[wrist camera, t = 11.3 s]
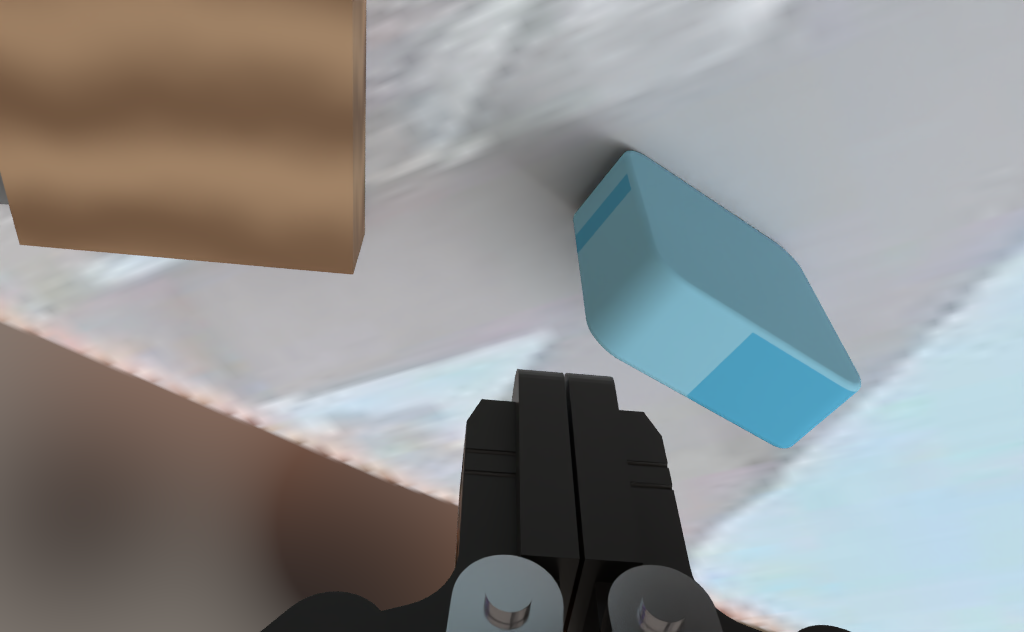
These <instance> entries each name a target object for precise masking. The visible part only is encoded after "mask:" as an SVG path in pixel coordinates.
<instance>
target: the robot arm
mask: <svg viewBox="0 0 1024 632" xmlns="http://www.w3.org/2000/svg"><path fill="white" fill-rule="evenodd" d="M261 632H762V631H759V630H756V629H754V628H751V627H748V626H746V625H743V624H741V623H739V622H736V621H735V620H733V619H731V618H729V617H728V616H726V615H725V614H723V613H722V612H720V611H719V610H718V609H717V608H715V606H714V604H713V602H712V600H711V599H710V597H709V595H708V594H707V593H706V592H705V590H704V589H703V588H702V587H701V586H700V585H699V584H698V583H697V582H696V581H695V580H694V578H693V576H692V572H691V569H690V565H689V560H688V555H687V551H686V546H685V541H684V537H683V532H682V527H681V523H680V518H679V514H678V509H677V504H676V500H675V495H674V490H672V481H671V477H670V472H669V468H667V458H666V453H665V449H664V444H663V439H662V436H661V435H660V433H659V432H658V431H657V429H656V428H655V427H654V425H653V424H652V423H651V421H650V420H649V419H648V417H647V416H646V415H645V413H644V412H636V411H624V410H619V408H618V402H617V396H616V390H615V384H614V380H613V378H612V377H608V376H596V375H584V374H572V373H566V374H565V376H564V374H563V373H558V372H546V371H534V370H522V369H517V371H516V375H515V382H514V389H513V396H512V402H510V401H497V400H485V399H482V400H481V401H480V403H479V404H478V406H477V407H476V408H475V410H474V411H473V413H472V414H471V416H470V417H469V419H468V420H467V424H466V434H465V443H464V453H463V463H462V472H461V482H460V493H459V508H458V524H457V541H456V554H455V569H454V571H453V573H452V575H451V577H450V578H449V579H448V581H447V582H446V583H445V585H443V586H442V587H441V588H440V589H439V590H438V591H437V592H435V593H434V594H432V595H430V596H429V597H427V598H425V599H423V600H421V601H419V602H415V603H412V604H409V605H405V606H401V607H397V608H392V609H388V610H384V611H381V610H379V609H378V608H377V607H376V606H375V605H374V604H373V603H372V602H370V601H368V600H367V599H365V598H363V597H361V596H358V595H355V594H351V593H348V592H339V591H338V592H325V593H319V594H316V595H313V596H310V597H307V598H305V599H303V600H301V601H299V602H298V603H296V604H295V605H293V606H292V607H291V608H289V609H288V610H287V611H285V612H284V613H283V614H282V615H281V616H279V617H278V618H277V619H276V620H274V621H273V622H272V623H271V624H269V625H268V626H267V627H266V628H265V629H263V630H262V631H261ZM798 632H850V631H847V630H845V629H842V628H838V627H834V626H828V625H815V626H809V627H806V628H804V629H801V630H800V631H798Z"/></svg>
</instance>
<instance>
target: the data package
mask: <svg viewBox="0 0 1024 632" xmlns="http://www.w3.org/2000/svg"><path fill="white" fill-rule="evenodd" d="M573 222H574V230H575V237H576V245H577V253H578V260H579V268H580V276H581V283H582V291H583V299H584V306H585V314H586V321H587V325H588V327H589V329H590V331H591V333H592V335H593V336H594V338H595V339H596V340H597V341H598V342H599V344H600V345H601V346H602V347H603V348H604V349H605V350H607V351H608V352H609V353H610V354H611V355H613V356H614V357H616V358H617V359H619V360H621V361H623V362H624V363H626V364H628V365H630V366H632V367H633V368H635V369H637V370H639V371H640V372H642V373H644V374H646V375H648V376H649V377H651V378H653V379H655V380H657V381H658V382H660V383H662V384H664V385H666V386H667V387H669V388H671V389H673V390H675V391H676V392H678V393H680V394H682V395H684V396H685V397H687V398H689V399H691V400H692V401H694V402H696V403H698V404H700V405H701V406H703V407H705V408H707V409H709V410H710V411H712V412H714V413H716V414H718V415H719V416H721V417H723V418H725V419H727V420H728V421H730V422H732V423H734V424H736V425H737V426H739V427H741V428H743V429H744V430H746V431H748V432H750V433H752V434H753V435H755V436H757V437H759V438H761V439H762V440H764V441H766V442H768V443H770V444H771V445H773V446H776V447H779V448H789V447H791V446H793V445H794V444H795V443H796V442H797V441H799V440H800V439H801V438H802V437H803V436H805V435H806V434H807V433H808V432H809V431H810V430H812V429H813V428H814V427H815V426H816V425H818V424H819V423H820V422H821V421H822V420H824V419H825V418H826V417H827V416H828V415H830V414H831V413H832V412H833V411H834V410H835V409H837V408H838V407H839V406H840V405H841V404H843V403H844V402H845V401H846V400H847V399H849V398H850V397H851V396H852V395H853V394H855V393H856V392H857V391H858V390H859V389H860V387H861V379H860V376H859V374H858V372H857V370H856V369H855V367H854V365H853V363H852V361H851V359H850V357H849V356H848V354H847V352H846V350H845V348H844V346H843V345H842V343H841V341H840V339H839V337H838V335H837V334H836V332H835V330H834V328H833V326H832V324H831V322H830V321H829V319H828V317H827V315H826V313H825V311H824V310H823V308H822V306H821V304H820V302H819V300H818V299H817V297H816V295H815V293H814V291H813V289H812V287H811V286H810V284H809V282H808V280H807V278H806V276H805V275H804V273H803V271H802V269H801V267H800V266H799V265H798V263H797V262H796V261H795V260H794V259H793V258H792V256H791V255H790V254H788V253H787V252H786V251H785V250H784V249H783V248H782V247H781V246H779V245H778V244H777V243H775V242H774V241H772V240H771V239H769V238H768V237H766V236H765V235H763V234H762V233H760V232H759V231H757V230H756V229H754V228H753V227H751V226H750V225H748V224H747V223H745V222H744V221H742V220H741V219H739V218H738V217H736V216H735V215H733V214H732V213H730V212H729V211H727V210H726V209H724V208H723V207H721V206H720V205H718V204H717V203H715V202H714V201H712V200H711V199H709V198H708V197H706V196H705V195H703V194H702V193H700V192H699V191H697V190H696V189H694V188H693V187H691V186H690V185H688V184H687V183H685V182H684V181H682V180H681V179H679V178H678V177H676V176H675V175H673V174H672V173H670V172H669V171H667V170H666V169H664V168H663V167H661V166H660V165H658V164H657V163H655V162H654V161H652V160H651V159H649V158H648V157H646V156H644V155H643V154H641V153H638V152H636V151H626V152H625V153H624V154H623V155H622V156H621V157H620V159H619V160H618V161H617V162H616V164H615V165H614V166H613V167H612V168H611V170H610V171H609V172H608V173H607V175H606V176H605V177H604V178H603V180H602V181H601V182H600V183H599V185H598V186H597V187H596V188H595V190H594V191H593V192H592V193H591V194H590V196H589V197H588V198H587V199H586V201H585V202H584V203H583V204H582V206H581V207H580V208H579V209H578V211H577V212H576V213H575V215H574V217H573Z"/></svg>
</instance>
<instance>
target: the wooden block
mask: <svg viewBox="0 0 1024 632" xmlns="http://www.w3.org/2000/svg"><path fill="white" fill-rule="evenodd" d="M365 104H366V0H0V173H1V176H2V180H3V184H4V188H5V191H6V195H7V199H8V202H9V206H10V210H11V214H12V217H13V221H14V225H15V229H16V232H17V236H18V240H19V243H20V245H29V246H40V247H52V248H63V249H74V250H85V251H96V252H108V253H119V254H130V255H141V256H152V257H164V258H175V259H186V260H197V261H208V262H220V263H231V264H242V265H253V266H264V267H276V268H287V269H298V270H309V271H320V272H332V273H343V274H353V273H354V269H355V266H356V262H357V259H358V256H359V252H360V249H361V245H362V242H363V238H364V235H365Z"/></svg>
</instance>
